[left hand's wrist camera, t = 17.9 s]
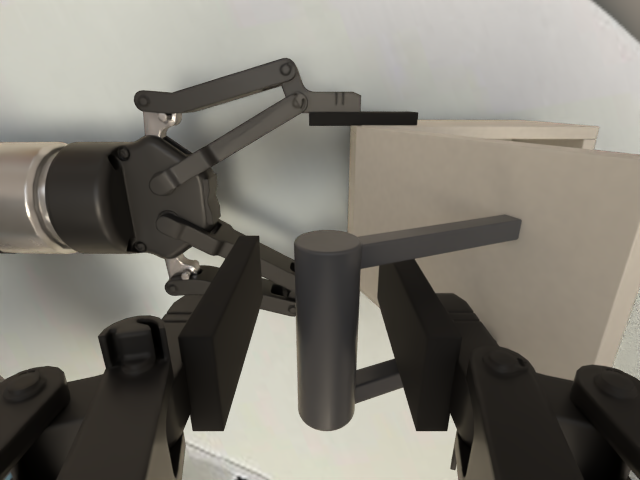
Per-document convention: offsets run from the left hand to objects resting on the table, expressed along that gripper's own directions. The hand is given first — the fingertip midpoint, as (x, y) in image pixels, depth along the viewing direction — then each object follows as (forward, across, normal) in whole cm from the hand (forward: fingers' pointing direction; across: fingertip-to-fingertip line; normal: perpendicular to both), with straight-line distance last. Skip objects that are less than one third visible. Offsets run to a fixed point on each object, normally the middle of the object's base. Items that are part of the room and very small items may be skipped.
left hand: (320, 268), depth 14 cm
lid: (+2, -6, 0) cm, 6 cm away
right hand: (+11, -6, 0) cm, 13 cm away
